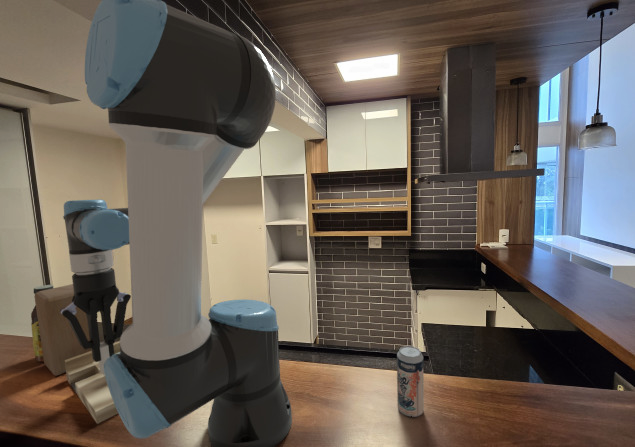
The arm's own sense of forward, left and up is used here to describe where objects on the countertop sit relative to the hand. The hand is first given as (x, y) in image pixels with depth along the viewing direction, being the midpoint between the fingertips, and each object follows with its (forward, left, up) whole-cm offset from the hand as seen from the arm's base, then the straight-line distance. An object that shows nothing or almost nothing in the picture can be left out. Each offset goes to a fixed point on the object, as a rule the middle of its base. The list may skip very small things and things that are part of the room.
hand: (105, 371), depth 70 cm
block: (+21, +2, -4) cm, 21 cm away
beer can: (-57, -34, -4) cm, 67 cm away
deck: (0, -1, -4) cm, 4 cm away
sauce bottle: (+30, +5, -4) cm, 30 cm away
